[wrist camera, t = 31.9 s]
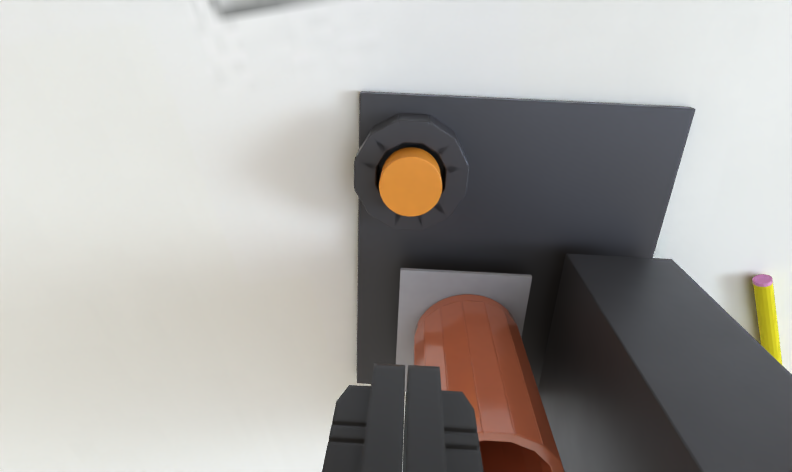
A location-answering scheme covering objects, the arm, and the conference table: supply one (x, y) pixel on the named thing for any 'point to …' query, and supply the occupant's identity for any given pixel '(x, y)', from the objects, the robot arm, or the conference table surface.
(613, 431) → the coffee maker
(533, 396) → the tumbler
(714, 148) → the conference table surface
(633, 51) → the conference table surface
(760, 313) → the pencil
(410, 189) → the brew button
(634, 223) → the coffee maker base
